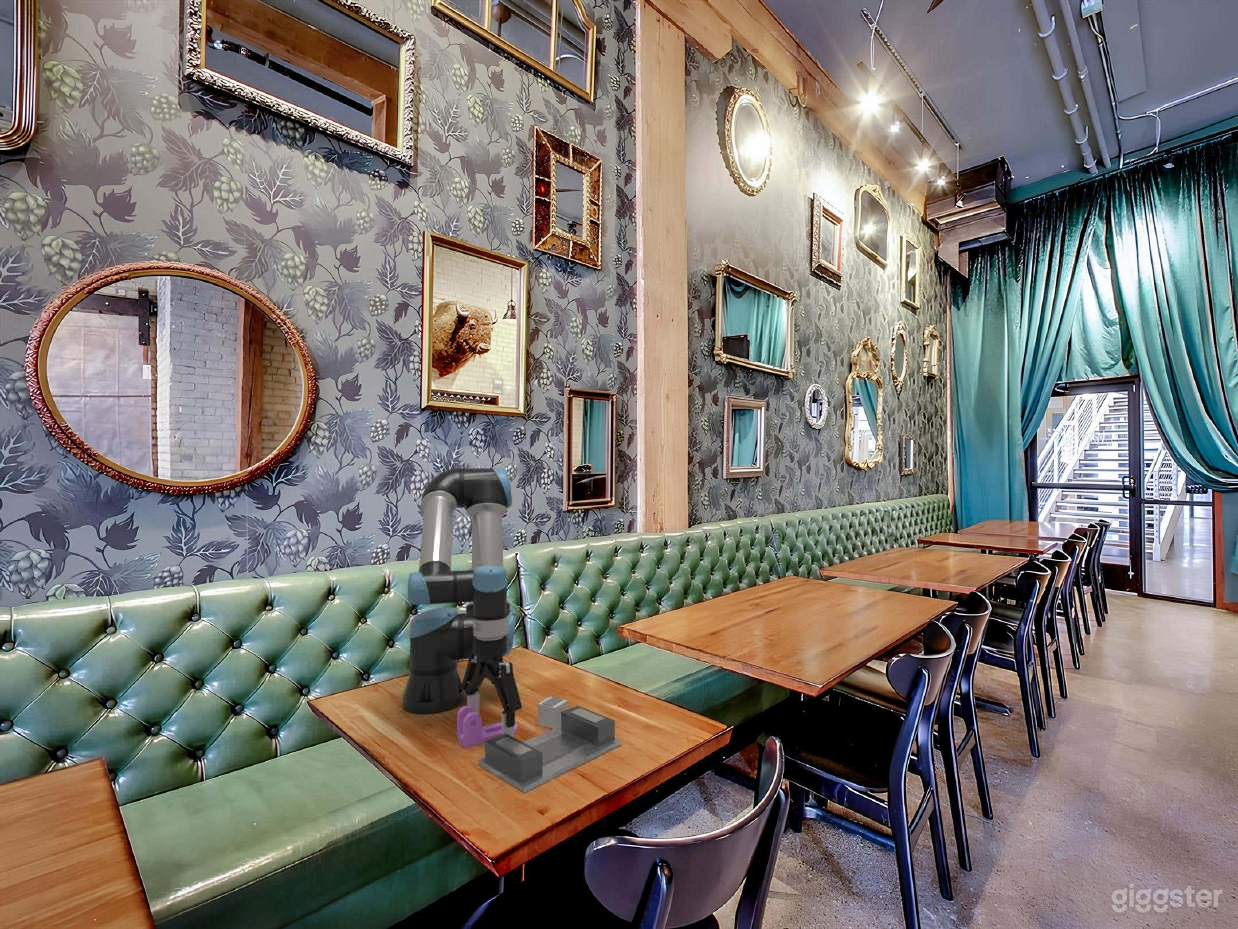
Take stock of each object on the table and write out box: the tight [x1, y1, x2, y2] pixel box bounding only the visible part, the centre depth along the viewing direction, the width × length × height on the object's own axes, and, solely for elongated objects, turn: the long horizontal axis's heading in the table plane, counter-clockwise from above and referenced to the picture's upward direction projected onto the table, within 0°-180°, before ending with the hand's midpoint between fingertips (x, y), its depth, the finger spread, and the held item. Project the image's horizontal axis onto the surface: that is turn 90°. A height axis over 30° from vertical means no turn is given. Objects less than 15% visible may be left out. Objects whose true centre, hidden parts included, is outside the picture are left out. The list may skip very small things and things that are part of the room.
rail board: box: [478, 705, 622, 794], centre depth 121 cm, size 15×26×5 cm, turn 136°
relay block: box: [537, 696, 568, 730], centre depth 137 cm, size 5×5×5 cm
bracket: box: [456, 705, 519, 749], centre depth 130 cm, size 13×6×7 cm, turn 122°
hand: (490, 731), depth 130 cm, fingers open, 13 cm apart
